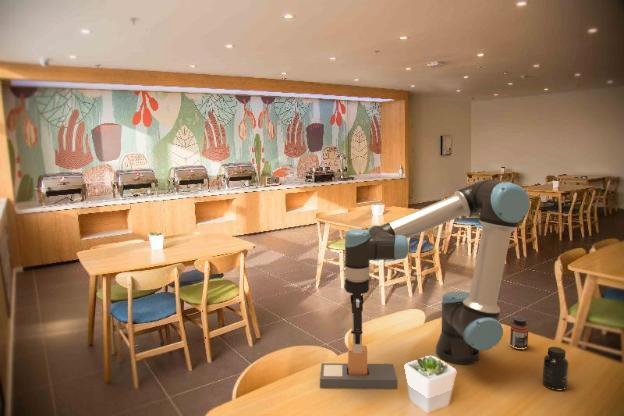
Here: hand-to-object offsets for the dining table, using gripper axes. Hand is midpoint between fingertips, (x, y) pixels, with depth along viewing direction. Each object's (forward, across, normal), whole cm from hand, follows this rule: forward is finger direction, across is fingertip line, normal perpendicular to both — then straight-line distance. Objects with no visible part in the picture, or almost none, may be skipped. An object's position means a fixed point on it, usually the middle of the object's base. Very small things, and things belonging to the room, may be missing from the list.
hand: (356, 342), depth 142 cm
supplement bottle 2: (+13, 0, +62) cm, 64 cm away
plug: (+13, 0, 0) cm, 13 cm away
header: (+14, 0, 0) cm, 14 cm away
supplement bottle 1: (+13, -26, +62) cm, 68 cm away
